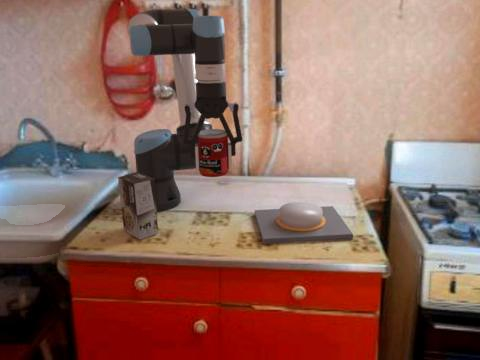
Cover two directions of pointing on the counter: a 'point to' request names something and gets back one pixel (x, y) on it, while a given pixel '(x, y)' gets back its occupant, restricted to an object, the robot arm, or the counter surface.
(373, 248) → the counter surface
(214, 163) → the canned food
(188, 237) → the counter surface
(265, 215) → the base
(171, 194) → the robot arm
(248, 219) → the counter surface
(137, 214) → the coffee box
